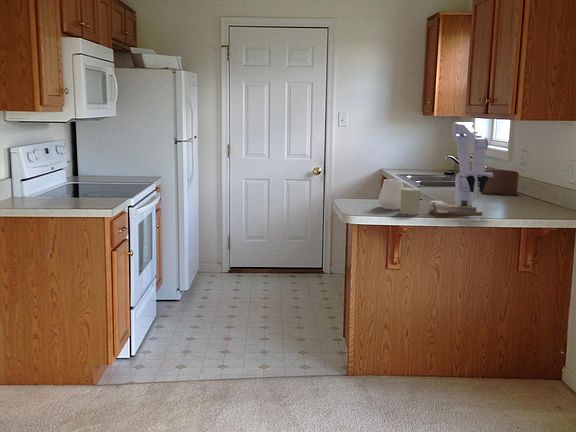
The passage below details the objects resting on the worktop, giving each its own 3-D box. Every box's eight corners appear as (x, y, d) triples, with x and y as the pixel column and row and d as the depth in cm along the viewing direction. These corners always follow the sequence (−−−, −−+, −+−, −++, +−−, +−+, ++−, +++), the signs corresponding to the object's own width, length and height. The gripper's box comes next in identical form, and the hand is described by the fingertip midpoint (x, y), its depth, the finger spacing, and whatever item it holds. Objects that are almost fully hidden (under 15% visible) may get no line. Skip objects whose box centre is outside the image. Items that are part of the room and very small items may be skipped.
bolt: (445, 209, 308) (446, 200, 307) (465, 209, 309) (466, 199, 309) (448, 210, 305) (448, 201, 304) (468, 210, 307) (468, 200, 306)
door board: (429, 212, 310) (430, 200, 309) (472, 211, 314) (473, 200, 313) (438, 215, 301) (438, 204, 300) (482, 215, 304) (483, 203, 303)
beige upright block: (406, 215, 301) (408, 189, 298) (395, 211, 309) (397, 187, 307) (423, 214, 304) (424, 189, 302) (412, 210, 312) (413, 186, 310)
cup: (402, 211, 311) (404, 182, 308) (375, 209, 315) (376, 180, 313) (407, 207, 323) (409, 179, 321) (381, 204, 328) (382, 177, 325)
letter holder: (517, 195, 372) (519, 170, 370) (481, 193, 375) (483, 169, 372) (513, 192, 382) (515, 168, 379) (479, 191, 385) (481, 167, 382)
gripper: (467, 164, 299) (465, 193, 301) (496, 164, 302) (494, 193, 304) (461, 162, 306) (459, 191, 308) (489, 162, 309) (487, 191, 311)
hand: (476, 192), depth 307 cm, fingers open, 4 cm apart
